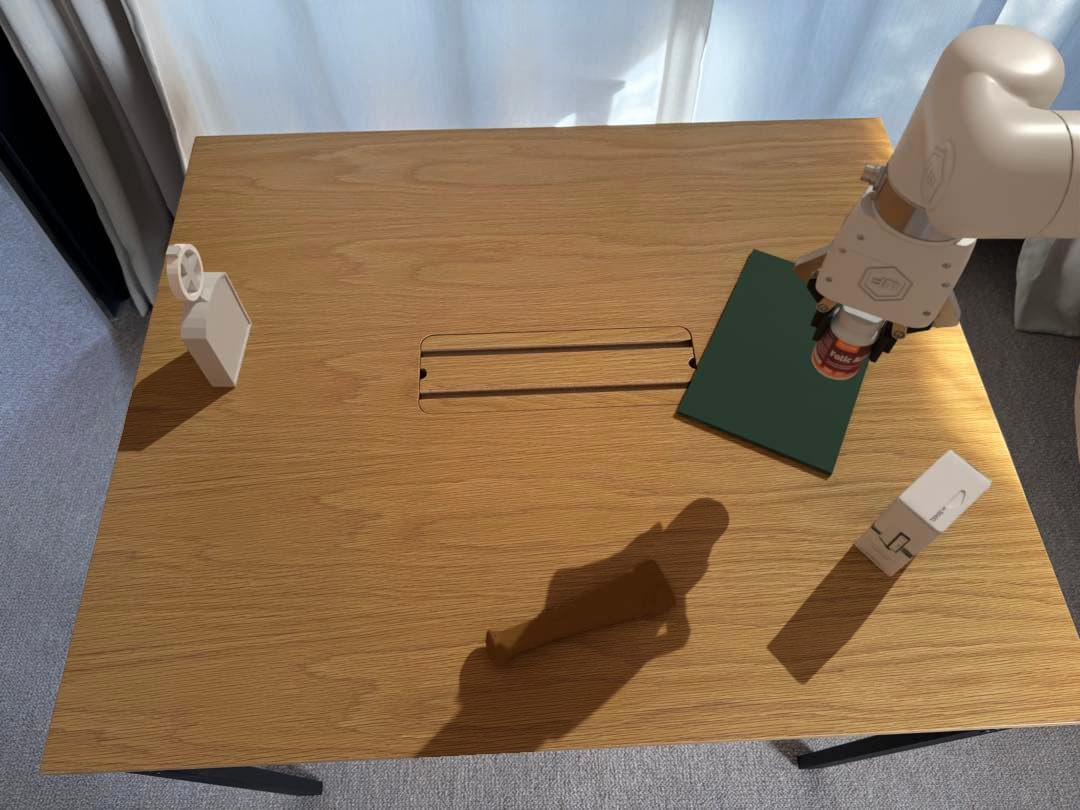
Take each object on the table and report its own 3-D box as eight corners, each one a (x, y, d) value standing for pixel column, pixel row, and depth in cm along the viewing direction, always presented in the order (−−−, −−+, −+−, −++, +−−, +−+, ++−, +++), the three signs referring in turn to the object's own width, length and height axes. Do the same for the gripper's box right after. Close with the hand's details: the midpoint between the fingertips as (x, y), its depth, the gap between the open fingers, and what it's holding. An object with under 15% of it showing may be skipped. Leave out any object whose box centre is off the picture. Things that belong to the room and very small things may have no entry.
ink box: (901, 496, 83) (951, 443, 73) (940, 529, 81) (997, 480, 71) (850, 544, 80) (895, 496, 70) (889, 580, 78) (941, 535, 68)
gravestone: (252, 323, 95) (197, 216, 80) (235, 386, 90) (174, 285, 75) (229, 323, 95) (171, 216, 80) (212, 386, 90) (146, 285, 75)
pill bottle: (816, 382, 76) (845, 330, 68) (806, 343, 78) (832, 289, 71) (864, 381, 76) (898, 328, 69) (852, 342, 78) (883, 288, 71)
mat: (888, 298, 97) (890, 295, 97) (830, 475, 84) (832, 473, 84) (752, 251, 102) (753, 248, 101) (676, 413, 88) (677, 410, 88)
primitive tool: (652, 558, 79) (657, 546, 76) (680, 606, 76) (685, 595, 73) (480, 638, 75) (478, 629, 72) (503, 692, 72) (501, 684, 69)
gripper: (805, 193, 59) (749, 337, 74) (1038, 268, 55) (928, 403, 70) (831, 135, 62) (773, 284, 78) (1051, 201, 58) (944, 344, 74)
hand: (847, 339), depth 74 cm, fingers closed on pill bottle, 4 cm apart
